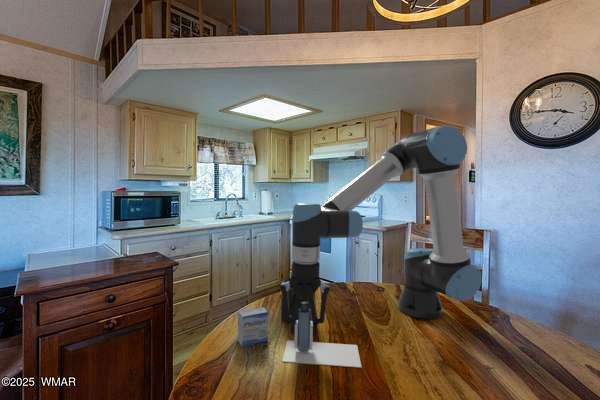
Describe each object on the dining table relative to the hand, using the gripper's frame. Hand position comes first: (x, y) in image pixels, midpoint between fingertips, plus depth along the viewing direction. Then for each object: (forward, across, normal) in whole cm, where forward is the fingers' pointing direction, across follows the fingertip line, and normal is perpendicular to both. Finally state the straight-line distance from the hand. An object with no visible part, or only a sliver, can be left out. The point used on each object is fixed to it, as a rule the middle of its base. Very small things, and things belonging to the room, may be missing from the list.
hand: (303, 346), depth 77 cm
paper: (+2, +5, 0) cm, 5 cm away
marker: (+1, 0, 0) cm, 1 cm away
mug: (+2, -4, +19) cm, 20 cm away
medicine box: (+2, -15, +4) cm, 16 cm away
